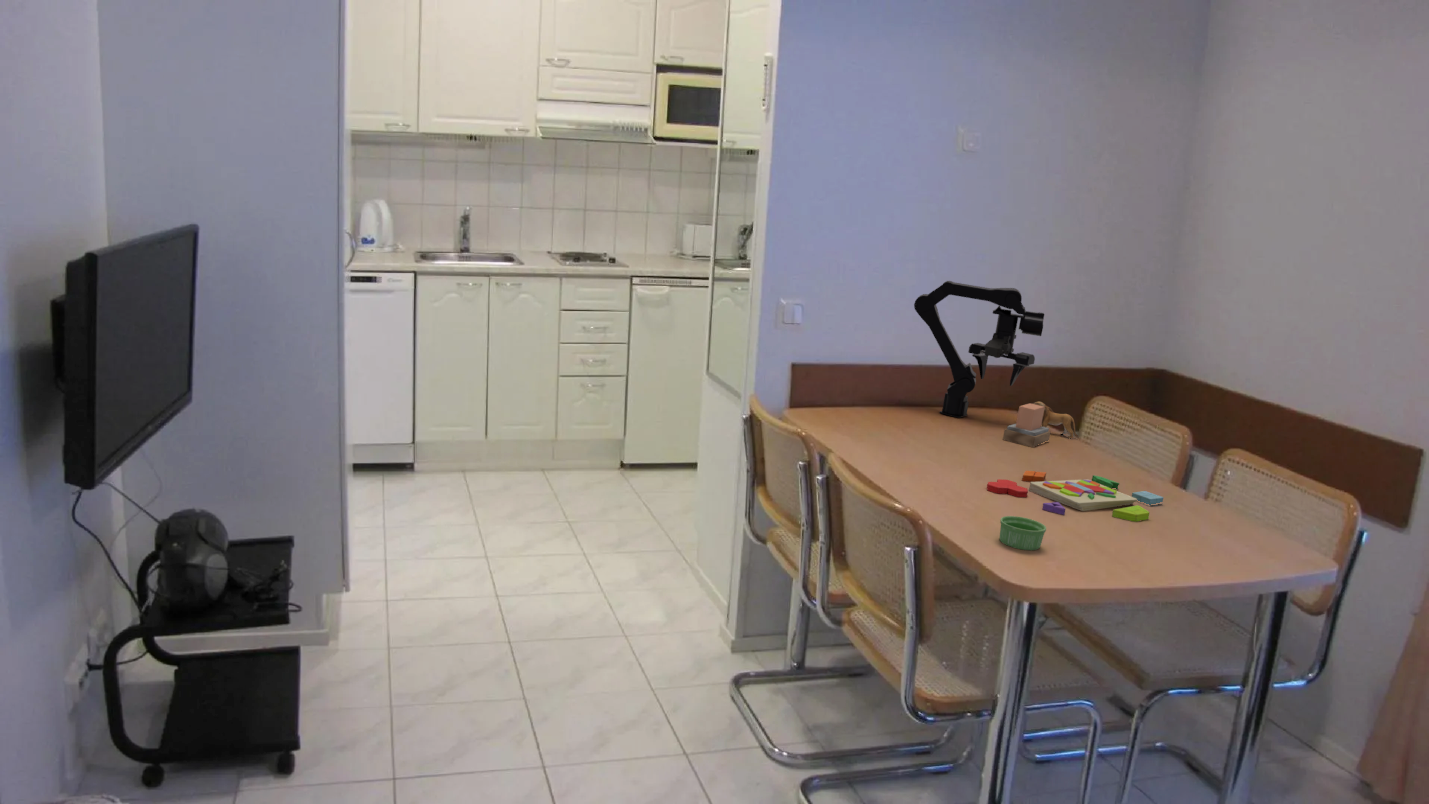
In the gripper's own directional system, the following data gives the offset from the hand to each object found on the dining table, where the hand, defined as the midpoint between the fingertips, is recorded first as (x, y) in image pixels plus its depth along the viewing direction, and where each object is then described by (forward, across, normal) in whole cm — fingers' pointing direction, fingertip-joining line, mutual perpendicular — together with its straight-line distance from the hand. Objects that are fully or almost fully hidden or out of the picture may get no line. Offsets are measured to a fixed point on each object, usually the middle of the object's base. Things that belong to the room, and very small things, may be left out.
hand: (996, 382), depth 345 cm
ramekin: (+12, +52, -108) cm, 120 cm away
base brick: (+12, +17, -14) cm, 25 cm away
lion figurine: (+12, +18, +3) cm, 22 cm away
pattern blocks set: (+13, +48, -60) cm, 78 cm away
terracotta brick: (+8, +17, -14) cm, 23 cm away
